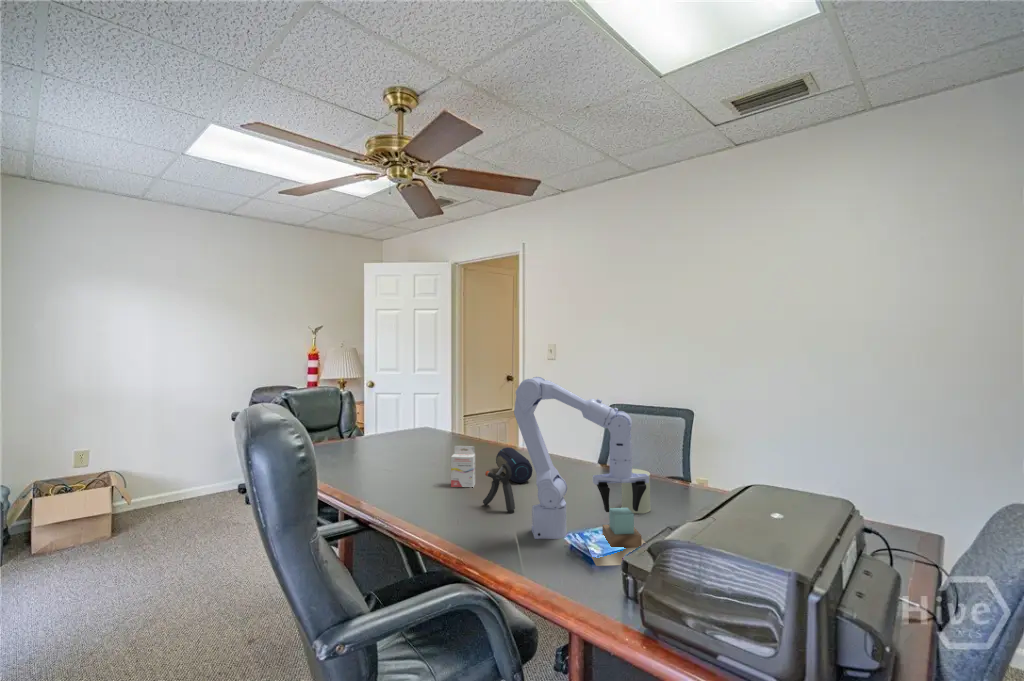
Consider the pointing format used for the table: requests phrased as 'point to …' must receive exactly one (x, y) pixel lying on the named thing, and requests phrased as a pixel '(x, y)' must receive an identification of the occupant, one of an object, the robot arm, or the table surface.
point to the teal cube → (621, 520)
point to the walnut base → (622, 538)
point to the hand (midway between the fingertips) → (621, 510)
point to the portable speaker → (515, 464)
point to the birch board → (613, 557)
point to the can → (628, 495)
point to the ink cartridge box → (463, 467)
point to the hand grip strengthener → (506, 487)
